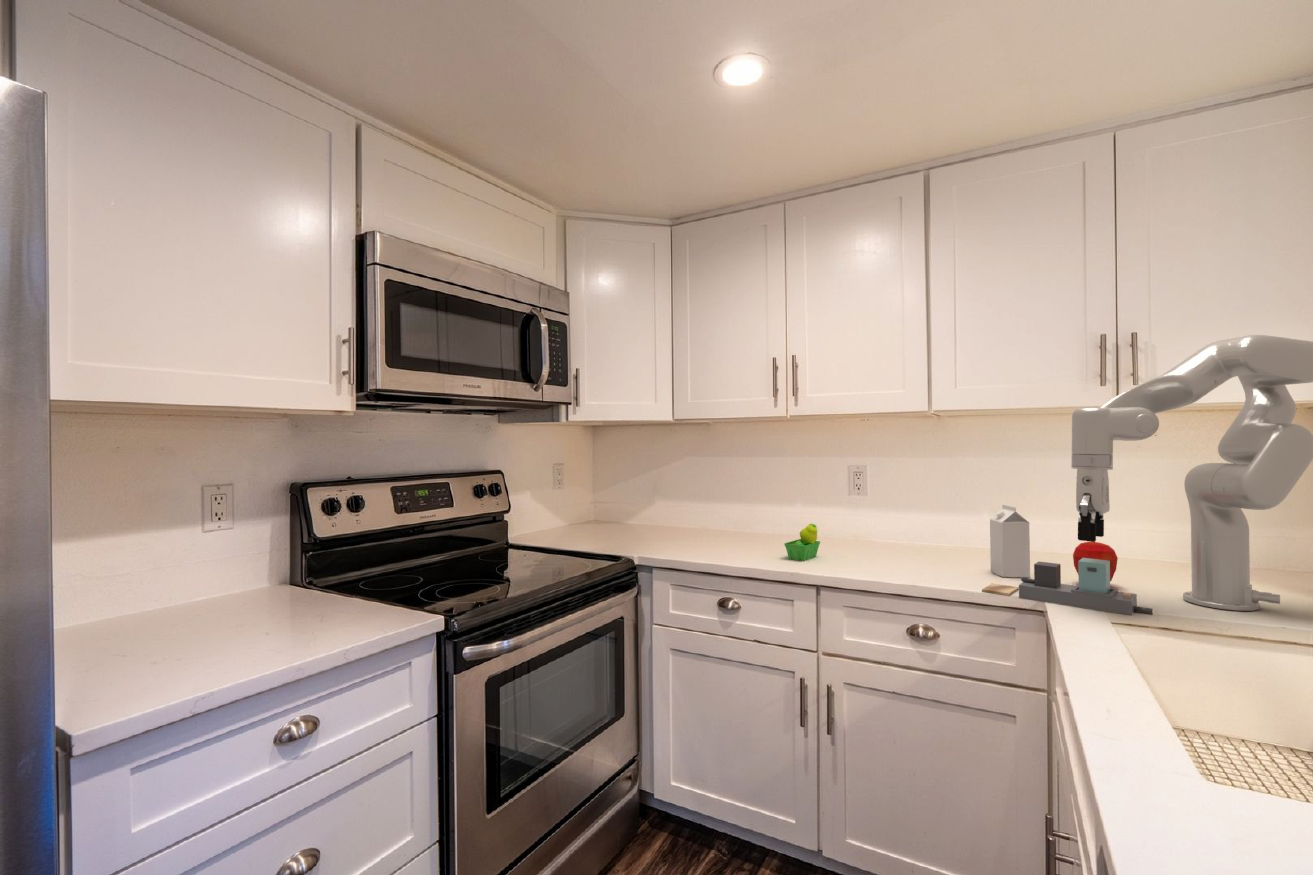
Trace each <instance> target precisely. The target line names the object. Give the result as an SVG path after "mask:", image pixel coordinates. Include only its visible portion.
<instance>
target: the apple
mask: <svg viewBox="0 0 1313 875" xmlns="http://www.w3.org/2000/svg"><path fill="white" fill-rule="evenodd" d="M1082 558H1089V559H1098V560H1107V561H1110V582H1112V580H1113V578H1114V575H1115V573H1116V571H1117V565H1118V559H1119V557H1118V555H1117V553H1116V551H1115V549H1113V548H1112V547H1111V546H1110V545H1108V544H1106V543H1102V542H1099V541H1097V542H1096V541H1095V542H1090V541H1085V542H1084V541H1083V542H1080V543H1079V544H1078V545H1077V546H1076V547H1075V549H1074V551H1073V554H1072V560H1073V566H1074V569H1075V571H1076V574H1077V575H1078V576H1079V574H1078V561H1079V560H1081V559H1082Z"/></svg>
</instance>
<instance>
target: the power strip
mask: <svg viewBox="0 0 1313 875" xmlns="http://www.w3.org/2000/svg"><path fill="white" fill-rule="evenodd" d="M1033 565H1034V566H1033V569H1034V570H1033V576H1034V579H1033V578H1030V577H1020V580H1021V583H1020V584H1019V585H1018V587H1019V590H1018V598H1020V599H1025V600H1032V601H1038V602H1045V603H1051V604H1055V605H1056V604H1057V605H1061V606H1062V605H1063V606H1070V607H1076V608H1082V609H1090V610H1095V611H1101V612H1108V613H1115V614H1121V615H1127V616H1133V615H1134V613H1142V614H1147V615H1153V613H1154V611H1153V608H1151V607H1146V606H1145V607H1144V606H1140V605H1139V606H1138V605H1137V603H1138V602H1137V601H1138V598H1137V596H1138V594H1137V593H1134V592H1133V593H1131V592H1124V591H1119V590H1118V588H1114V587H1113V588H1112V587H1110V593H1109V594H1102V593H1095V592H1088V591H1081V590H1079V583H1077V584H1076V585H1075V584H1067V583H1061V582H1062V581H1061V579H1062V578H1061V576H1062V574H1061V573H1062V572H1061V570H1062V569H1061V568H1062V566H1061V563H1054V562H1045V561H1038V562H1036V563H1034V564H1033Z"/></svg>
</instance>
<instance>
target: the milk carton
mask: <svg viewBox="0 0 1313 875" xmlns="http://www.w3.org/2000/svg"><path fill="white" fill-rule="evenodd" d="M1001 506H1002V508H1001V509H1000V510H998V511H996V513H995V514H994V515H993V516H991V517H990V518H989V539H990V540H989V541H990V542H989V544H990V545H989V546H990V547H989V549H990V551H989V552H990V553H989V556H990V572H991V573H994V574H995V575H997V576H999V577H1001V578H1030V577H1031V560H1030V559H1031V556H1030V554H1031V553H1030V552H1031V551H1030V549H1031V548H1030V544H1031V543H1030V541H1031V540H1030V522H1029V521H1028V520H1027V519H1026V518H1024V517H1023V516H1022V515H1020V514H1019V513H1018V511H1017V507H1015V506H1011V505H1006V504H1001Z"/></svg>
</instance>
